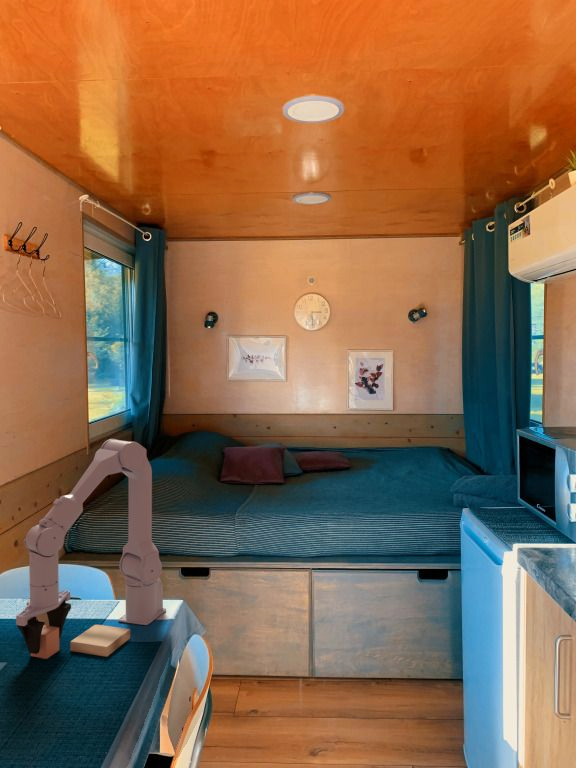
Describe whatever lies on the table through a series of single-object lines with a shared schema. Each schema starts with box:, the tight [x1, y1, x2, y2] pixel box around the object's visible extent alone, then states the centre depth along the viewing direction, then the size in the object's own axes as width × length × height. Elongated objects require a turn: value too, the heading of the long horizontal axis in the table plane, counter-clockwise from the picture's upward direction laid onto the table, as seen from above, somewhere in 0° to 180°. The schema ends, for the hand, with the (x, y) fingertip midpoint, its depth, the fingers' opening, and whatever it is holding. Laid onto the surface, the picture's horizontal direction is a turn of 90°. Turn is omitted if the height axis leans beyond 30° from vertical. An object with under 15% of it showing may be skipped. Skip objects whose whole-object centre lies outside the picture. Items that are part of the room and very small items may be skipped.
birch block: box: [70, 624, 131, 657], centre depth 132 cm, size 9×9×2 cm
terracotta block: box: [30, 625, 60, 660], centre depth 128 cm, size 4×4×5 cm
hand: (45, 645), depth 128 cm, fingers open, 6 cm apart
